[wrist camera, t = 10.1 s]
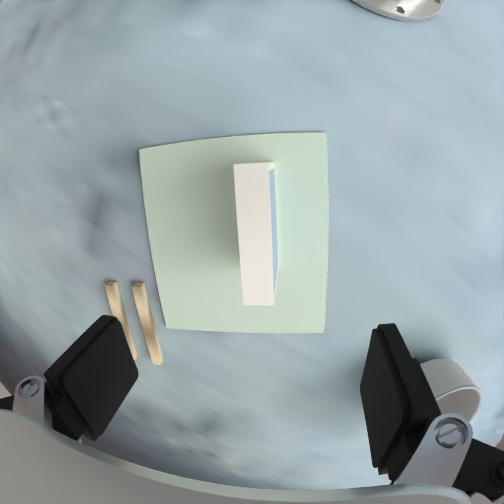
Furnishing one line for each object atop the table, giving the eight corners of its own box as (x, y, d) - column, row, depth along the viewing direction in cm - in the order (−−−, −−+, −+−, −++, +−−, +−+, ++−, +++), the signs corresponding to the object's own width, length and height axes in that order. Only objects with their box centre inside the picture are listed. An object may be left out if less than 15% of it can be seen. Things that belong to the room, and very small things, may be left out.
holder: (109, 281, 28) (104, 285, 27) (144, 282, 27) (140, 286, 26) (131, 354, 31) (127, 359, 30) (163, 359, 30) (160, 365, 29)
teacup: (372, 371, 27) (386, 425, 20) (455, 329, 24) (487, 373, 17) (393, 428, 30) (403, 471, 23) (459, 396, 28) (478, 435, 20)
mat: (141, 149, 23) (139, 149, 23) (325, 132, 21) (326, 132, 20) (168, 325, 29) (166, 327, 28) (323, 330, 26) (323, 332, 26)
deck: (249, 162, 22) (233, 164, 16) (274, 161, 22) (268, 162, 16) (255, 268, 25) (243, 305, 19) (278, 268, 24) (273, 305, 18)
